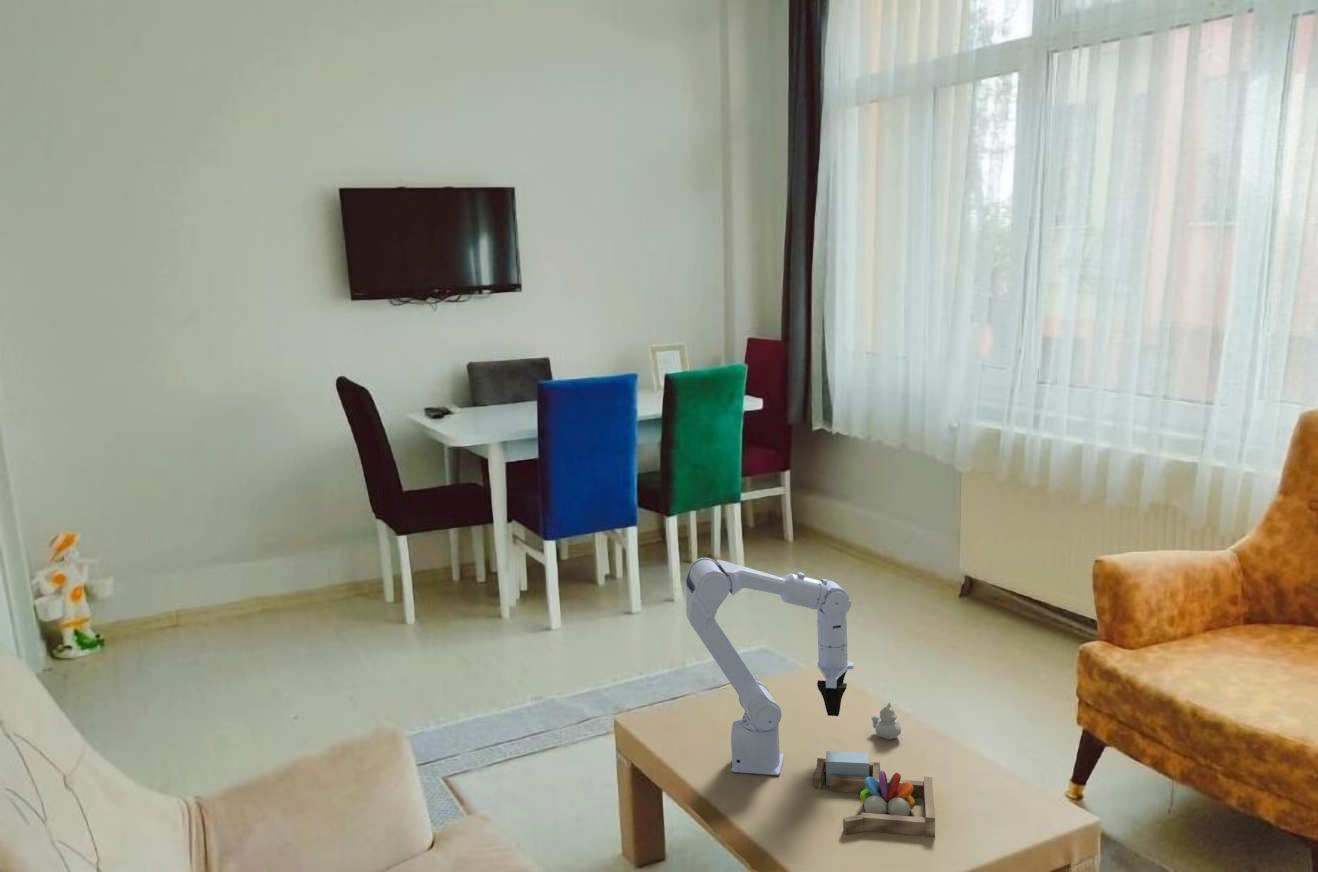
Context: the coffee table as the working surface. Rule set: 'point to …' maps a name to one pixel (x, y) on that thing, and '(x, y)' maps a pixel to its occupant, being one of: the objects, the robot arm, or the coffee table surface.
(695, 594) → the robot arm
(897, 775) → the rainbow fan toy
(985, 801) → the coffee table surface
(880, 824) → the frame
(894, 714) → the grey figurine
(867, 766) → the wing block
